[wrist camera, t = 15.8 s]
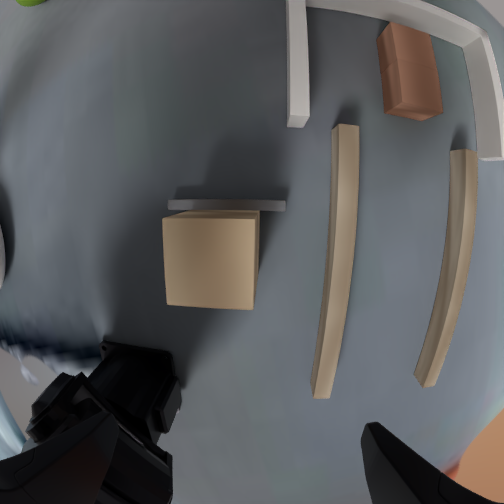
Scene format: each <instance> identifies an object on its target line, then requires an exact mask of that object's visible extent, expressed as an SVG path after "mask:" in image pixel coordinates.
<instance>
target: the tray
mask: <svg viewBox="0 0 504 504" xmlns="http://www.w3.org/2000/svg"><path fill="white" fill-rule="evenodd" d="M306 7H314V8H323V9H330V10H337V11H343V12H349V13H354V14H359V15H364V16H369V17H373V18H377V19H381V20H385V21H389V22H394V23H397V24H400V25H404V26H407V27H410V28H413V29H416V30H419V31H422V32H425V33H428V34H430V35H433V36H435V37H438V38H440V39H443V40H445V41H448V42H450V43H453V44H455V45H457V46H459V47H462V49H463V53H464V57H465V61H466V66H467V70H468V75H469V81H470V86H471V92H472V99H473V107H474V115H475V125H476V138H477V158H478V159H480V160H484V161H496V160H504V99H503V94H502V88H501V83H500V79H499V74H498V70H497V66H496V62H495V58H494V54H493V51H492V47H491V44H490V41H489V38H488V35H487V32H486V31H485V30H483V29H481V28H480V27H478V26H476V25H474V24H472V23H470V22H468V21H466V20H465V19H462V18H460V17H458V16H456V15H454V14H452V13H450V12H448V11H445V10H443V9H441V8H438V7H436V6H434V5H431V4H429V3H426V2H423V1H421V0H286V29H287V127H295V128H303V127H304V125H305V124H306V122H307V120H308V118H309V116H310V104H309V60H308V37H307V20H306Z"/></svg>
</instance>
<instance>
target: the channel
mask: <svg viewBox="0 0 504 504" xmlns="http://www.w3.org/2000/svg"><path fill="white" fill-rule="evenodd" d="M477 185H478V158H477V152H475V151H472V150H469V149H460V150H453V151H450V194H449V211H448V223H447V233H446V241H445V249H444V256H443V262H442V268H441V274H440V280H439V285H438V290H437V294H436V299H435V304H434V308H433V312H432V316H431V320H430V324H429V328H428V331H427V335H426V338H425V342H424V345H423V348H422V351H421V355H420V358H419V361H418V364H417V367H416V370H415V372H414V376H415V377H416V379H417V380H418V382H419V383H420V385H421V386H422V388H426V387H431V386H434V385H435V383H436V380H437V378H438V375H439V373H440V370H441V367H442V365H443V362H444V359H445V357H446V354H447V351H448V348H449V345H450V342H451V339H452V335H453V332H454V329H455V325H456V322H457V318H458V315H459V311H460V307H461V303H462V299H463V295H464V290H465V286H466V281H467V276H468V271H469V265H470V259H471V253H472V246H473V238H474V229H475V219H476V207H477ZM358 186H359V126H355V125H347V124H338V125H337V126H336V127H335V128H334V129H332V144H331V189H330V211H329V228H328V243H327V255H326V267H325V278H324V287H323V297H322V305H321V314H320V322H319V329H318V337H317V344H316V351H315V357H314V364H313V370H312V376H311V382H310V383H311V389H312V394H313V399H321V398H330V394H331V390H332V385H333V381H334V376H335V372H336V367H337V362H338V357H339V352H340V347H341V341H342V336H343V330H344V324H345V318H346V312H347V305H348V298H349V291H350V283H351V275H352V266H353V257H354V247H355V236H356V223H357V207H358Z"/></svg>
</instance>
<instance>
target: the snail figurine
mask: <svg viewBox="0 0 504 504" xmlns="http://www.w3.org/2000/svg"><path fill="white" fill-rule="evenodd" d="M16 1H17V2H18V3H19V4H20V5H22V6H27V7H30V6H35V5H38V4H41V3H42V2H44V1H46V0H16Z"/></svg>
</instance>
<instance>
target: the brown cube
mask: <svg viewBox="0 0 504 504" xmlns="http://www.w3.org/2000/svg"><path fill="white" fill-rule="evenodd" d="M381 78H382V89H383V101H384V113H385V114H391V115H396V116H401V117H406V118H410V119H415V120H419V121H423V120H426V119H428V118H431V117H433V116H436V115H439V114H441V113H443V107H442V98H441V90H440V83H439V77H438V71H437V70H434V69H431V68H428V67H425V66H422V65H419V64H415V63H412V62H408V61H405V60H401V59H396V60H395V61H394V62H393V63H392V64H391V65H390V66H389V67H388V68H387V69H386V70H385V71H384V72H383V73H382V74H381Z"/></svg>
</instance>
